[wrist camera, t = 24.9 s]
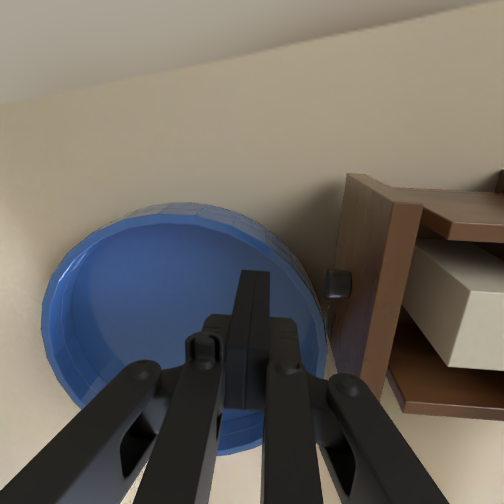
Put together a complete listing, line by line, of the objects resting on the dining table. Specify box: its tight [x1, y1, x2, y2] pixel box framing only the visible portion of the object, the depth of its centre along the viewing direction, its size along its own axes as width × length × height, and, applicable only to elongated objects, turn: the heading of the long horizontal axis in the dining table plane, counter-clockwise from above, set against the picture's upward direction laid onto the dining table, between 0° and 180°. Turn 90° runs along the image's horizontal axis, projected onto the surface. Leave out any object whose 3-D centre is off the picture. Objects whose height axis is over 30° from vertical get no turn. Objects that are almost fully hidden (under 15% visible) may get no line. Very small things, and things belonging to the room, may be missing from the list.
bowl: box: [41, 203, 328, 456], centre depth 25 cm, size 20×20×4 cm
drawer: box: [325, 173, 504, 421], centre depth 19 cm, size 14×11×9 cm
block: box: [402, 238, 504, 371], centre depth 18 cm, size 4×4×8 cm
